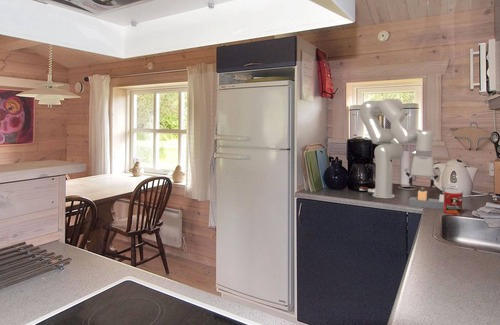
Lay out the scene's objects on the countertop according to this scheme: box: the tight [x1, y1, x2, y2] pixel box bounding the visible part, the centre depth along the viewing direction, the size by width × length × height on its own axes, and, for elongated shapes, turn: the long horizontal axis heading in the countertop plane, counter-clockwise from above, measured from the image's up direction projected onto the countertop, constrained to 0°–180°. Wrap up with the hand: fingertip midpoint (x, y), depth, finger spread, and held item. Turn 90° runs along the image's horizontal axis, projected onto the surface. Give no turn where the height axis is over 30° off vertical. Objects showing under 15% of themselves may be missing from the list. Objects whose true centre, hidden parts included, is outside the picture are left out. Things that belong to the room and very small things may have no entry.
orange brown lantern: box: [417, 186, 428, 201], centre depth 180 cm, size 4×4×10 cm
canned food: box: [443, 188, 464, 216], centre depth 165 cm, size 8×8×11 cm
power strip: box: [408, 193, 444, 211], centre depth 178 cm, size 20×8×6 cm, turn 59°
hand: (420, 186), depth 181 cm, fingers open, 9 cm apart
